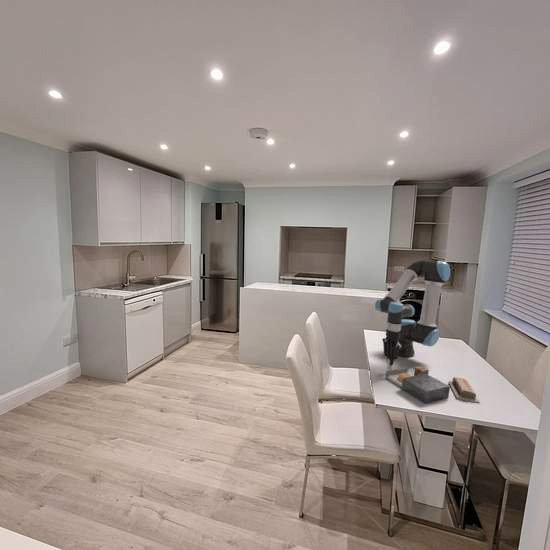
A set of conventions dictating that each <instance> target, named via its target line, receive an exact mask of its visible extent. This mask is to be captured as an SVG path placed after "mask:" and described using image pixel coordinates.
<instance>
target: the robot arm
mask: <svg viewBox="0 0 550 550" xmlns="http://www.w3.org/2000/svg"><path fill="white" fill-rule="evenodd" d="M450 277H451V268H450V265H449V263H447V261H442V260H430V259H429V260H428V259H420V260H416V261H414V262H413V263H412V262H411V264H409V265H408V266H407V267H406V268H405V269H404V270H403V274H402V275H401V276H400V278H399V279H398V280H397V281H396V283H395V284H394V285H393V286H392V288H390V290H389V291H388V292H387V294H386V295H385V296H384V297H383V299H381V298H380V299H379V298H378V299H377V300H376V301H375V303H374V308H375V310H376V311H377V312H380V313H384V314H387V320H386V330H385V338H382V343H383V355H384V357H386V371H389V370H393V366H394V361H395V360H398V357H402V358H403V357H404V358H412V357H414V356H415V349H414V343H418V344H420V345H423V346H427V347H430V348H431V347H434V346H435V345H436V344H437V343H438V341H439V338H440V335H441V334H440V330H439V329H438V326H437V324H436V320H437V313H438V309H439V307H438V306H439V301H440V296H441V290H442V286H443V285H445V282H447V281H449V279H450ZM420 278H424V279H423V281H424V283H425V289H424V295H423V302H422V305H421V306H422V307H421V313H420V319H419V320H418V321H415V320H413V319H408V318H410V317H413V316H414V315H415V311H416V310H415V307H414V306H413V305H411V304H409V303H406V304H403V303H400V302H398V301H400V299H401V298H402V297H403V296H404V295H405V293H406V291H407V290H408V289H409V287H410V286H411V285H412V284H413V282H415V281H417V280H418V279H420ZM406 318H407V319H406Z"/></svg>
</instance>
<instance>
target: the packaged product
mask: <svg viewBox="0 0 550 550" xmlns="http://www.w3.org/2000/svg"><path fill="white" fill-rule="evenodd" d="M448 385H449V386H450V388H451V391H452V393H453V395H454V397H455V399H457V400H462V401H464V402H465V401H466V402H471V403H476V404H480V403H481V402H480V400H479V398H478V397H477V394H476V392H475V390H474V389H473V388H472V386H471V384H470V383H469V381H468V380H467V379H465V378H461V377H457V376H454V377H453V378H452V381H450V380H449V381H448Z"/></svg>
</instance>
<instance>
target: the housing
mask: <svg viewBox="0 0 550 550" xmlns="http://www.w3.org/2000/svg"><path fill="white" fill-rule="evenodd" d="M450 388H451V387H450V385H449V384H447V383H445V382H443V381H442V380H441V381H440V380H438V379H437V378H435V377H432V376H431V375H429V374H428V375H427V374H421V375H416V376H414V375H412V376H411V377H406V378H403V380H402V387H401V390H402V391H404V392H405V393H407V394H409V395H411V397H414V398H415V399H417V400H418V401H420V402H422V404H423V403H424V404H428V403H432V402H435V401H436V402H437V401H441V400H443V399H447V398H448V399H449V397H450Z"/></svg>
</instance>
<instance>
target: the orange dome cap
mask: <svg viewBox="0 0 550 550" xmlns="http://www.w3.org/2000/svg"><path fill="white" fill-rule="evenodd" d="M410 375H411V374H410ZM410 375H406V374H400V375H399V378H398V379H399V381H401V382H402V380H403V378H406V377H411V376H410Z"/></svg>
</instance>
